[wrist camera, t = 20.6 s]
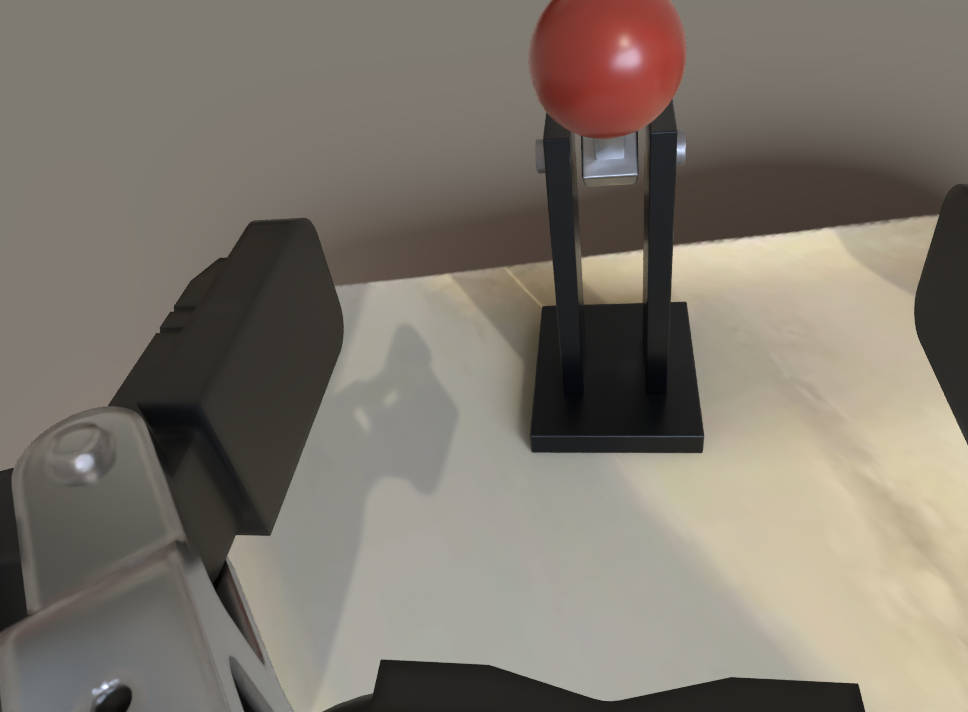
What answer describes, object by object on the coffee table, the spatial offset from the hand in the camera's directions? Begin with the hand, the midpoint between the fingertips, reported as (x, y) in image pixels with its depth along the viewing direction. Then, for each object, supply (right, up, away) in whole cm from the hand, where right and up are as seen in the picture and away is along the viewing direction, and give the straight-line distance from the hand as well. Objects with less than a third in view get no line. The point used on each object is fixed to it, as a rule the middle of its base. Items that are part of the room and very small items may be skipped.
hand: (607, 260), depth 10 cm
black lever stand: (+5, -3, +30) cm, 30 cm away
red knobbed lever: (+2, +5, +14) cm, 15 cm away
